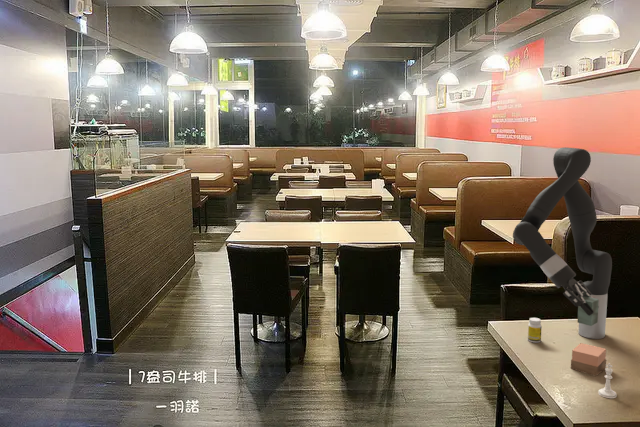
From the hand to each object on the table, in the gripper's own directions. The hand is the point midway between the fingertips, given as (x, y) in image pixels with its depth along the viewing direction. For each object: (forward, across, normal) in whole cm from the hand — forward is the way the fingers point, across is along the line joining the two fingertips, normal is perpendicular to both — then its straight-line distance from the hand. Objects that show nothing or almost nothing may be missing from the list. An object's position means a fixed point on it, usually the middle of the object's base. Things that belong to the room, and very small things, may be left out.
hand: (594, 311), depth 179 cm
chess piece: (+20, -16, +8) cm, 27 cm away
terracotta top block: (+11, 0, +12) cm, 17 cm away
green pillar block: (+2, 0, +4) cm, 5 cm away
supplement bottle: (-2, +13, +31) cm, 33 cm away
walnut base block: (+14, 0, +15) cm, 20 cm away
